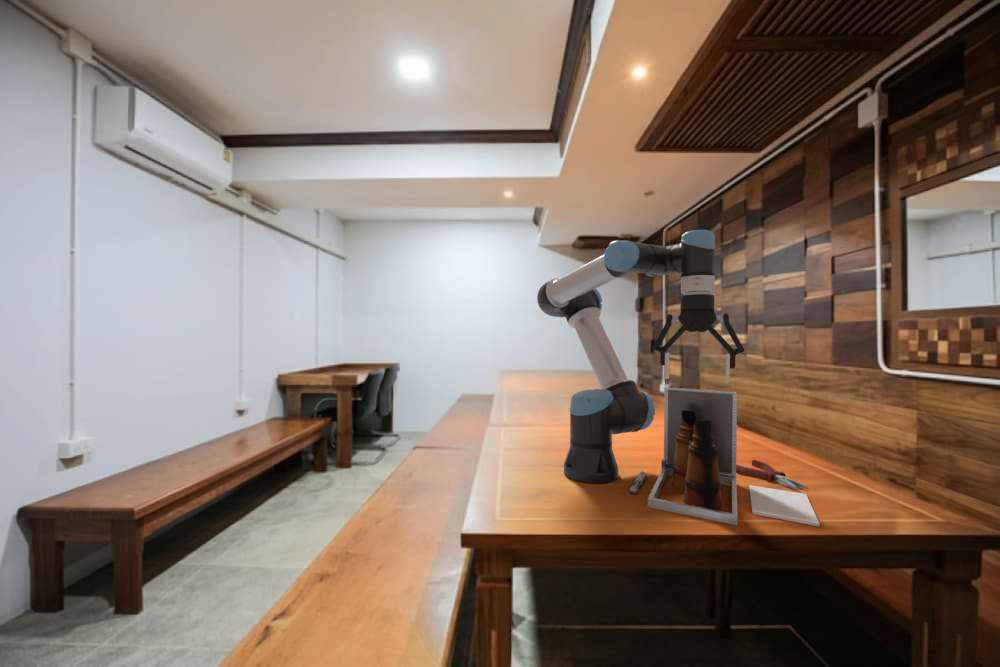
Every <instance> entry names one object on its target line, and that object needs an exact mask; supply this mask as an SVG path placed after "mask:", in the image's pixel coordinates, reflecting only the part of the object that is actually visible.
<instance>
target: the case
mask: <svg viewBox="0 0 1000 667" xmlns="http://www.w3.org/2000/svg"><path fill="white" fill-rule="evenodd" d="M663 400H664V402H663V403H664V406H663V407H664V408H663V412H664V413H663V414H664V415H663V416H664V417H663V419H664V420H663V421H664V422H663V458H662V459H661V471H660V472H659V474H658V477H657V479H656V481H655V483H654V484H653V487H652V489H651V491H650V493H649V495H648V497H647V508H649V507H650V509H655V510H660V511H664V512H668V513H669V512H670V513H674V514H680V515H684V516H690V517H693V518H694V517H695V518H697V519H698V518H699V519H704V520H709V521H714V522H717V523H718V522H719V523H722V524H727V525H734V526H738V491H737V490H738V489H737V473H736V464H737V445H738V444H737V434H738V432H737V430H738V427H737V425H738V424H737V423H738V392H736V391H725V390H724V391H722V390H721V391H720V390H710V389H693V388H681V387H680V388H679V387H678V388H677V387H664V398H663ZM682 410H692V411H694V412H695V414H696V418H697V421H698V420H707V421H711V422H712V430H711V436H712V437H713V445H715V446H716V449H717V450H718V454H717V459H718V470H719V481H720V483H721V485H726V486H731V512H728V511H725V510H724V511H723V510H722V511H721V510H720V511H718V510H713V509H708V508H703V507H698V506H692V505H687V504H685V503H682V502H676V501H673V500H671V501H670V500H667V499H666V500H665V499H660V498H658V496H659V494H660V491H661V489H662V486H663V484H664V482H665V481H666V478H667V476H670V477H672V474H673V469H672V465H673V463H674V455H675V446H676V439H675V438H676V435H677V433H678V432H680V425H681V412H682Z"/></svg>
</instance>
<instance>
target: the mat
mask: <svg viewBox="0 0 1000 667" xmlns="http://www.w3.org/2000/svg"><path fill="white" fill-rule="evenodd" d="M748 486H749V487H748V488H749V496H750V503H751V504H750V505H751V514H752V515H757V516H762V517H766V518H772V519H777V520H781V521H789V522H793V523H798V524H803V525H809V526H815V527H821V526H820V525H821V524H820V521H819V520H818V517H817V515H816V513H815V510H814V508H813V506H812V504H811V502H810V500H809V498H808V496H807V495H808V494H806V493H801V492H796V491H789V490H783V489H775V488H770V487H763V486H759V485H758V486H757V485H752V484H751V485H750V484H749V485H748Z"/></svg>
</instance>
